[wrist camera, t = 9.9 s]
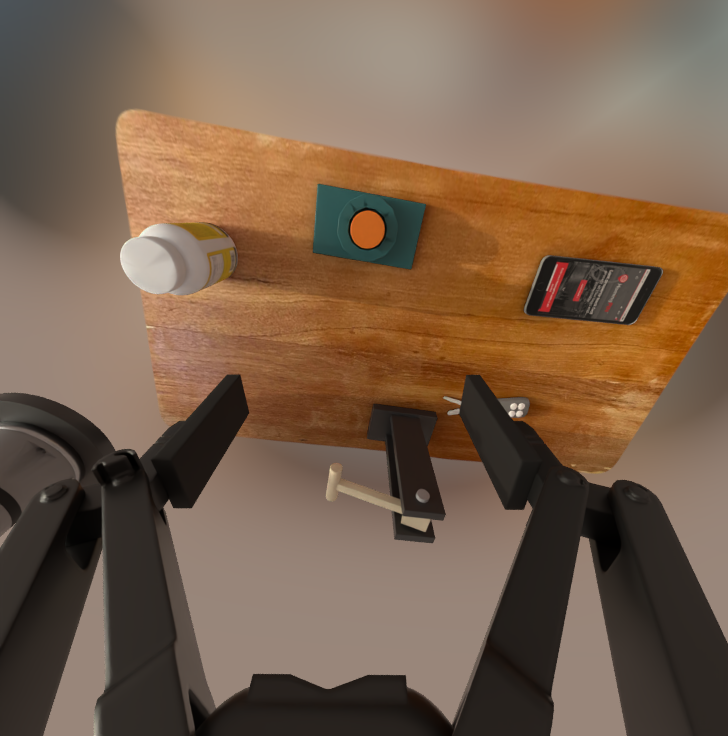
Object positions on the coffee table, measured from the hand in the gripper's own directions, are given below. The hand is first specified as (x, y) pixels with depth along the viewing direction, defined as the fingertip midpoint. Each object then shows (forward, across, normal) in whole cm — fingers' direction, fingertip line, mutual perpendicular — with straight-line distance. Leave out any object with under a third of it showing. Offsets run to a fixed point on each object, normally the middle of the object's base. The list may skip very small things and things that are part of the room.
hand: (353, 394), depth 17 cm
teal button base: (+23, +1, +8) cm, 24 cm away
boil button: (+21, +1, +8) cm, 22 cm away
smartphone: (+23, +29, +1) cm, 37 cm away
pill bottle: (+23, -18, +6) cm, 30 cm away
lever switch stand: (+23, +6, -20) cm, 31 cm away
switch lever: (+9, +2, -19) cm, 22 cm away
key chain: (+23, +19, -17) cm, 34 cm away
